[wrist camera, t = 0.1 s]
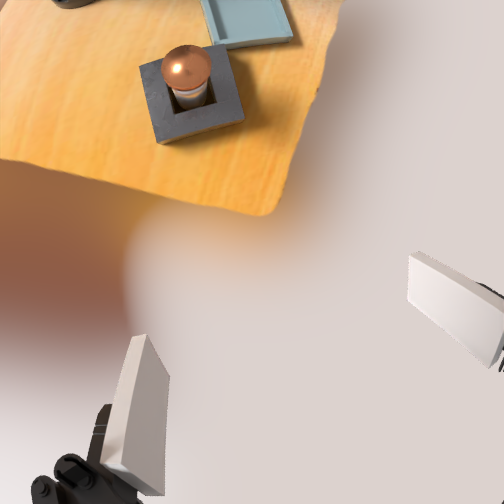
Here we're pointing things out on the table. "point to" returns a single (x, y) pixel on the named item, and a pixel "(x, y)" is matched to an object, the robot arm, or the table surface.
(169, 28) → the table surface
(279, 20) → the tray
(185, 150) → the table surface
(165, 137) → the block
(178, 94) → the pin
